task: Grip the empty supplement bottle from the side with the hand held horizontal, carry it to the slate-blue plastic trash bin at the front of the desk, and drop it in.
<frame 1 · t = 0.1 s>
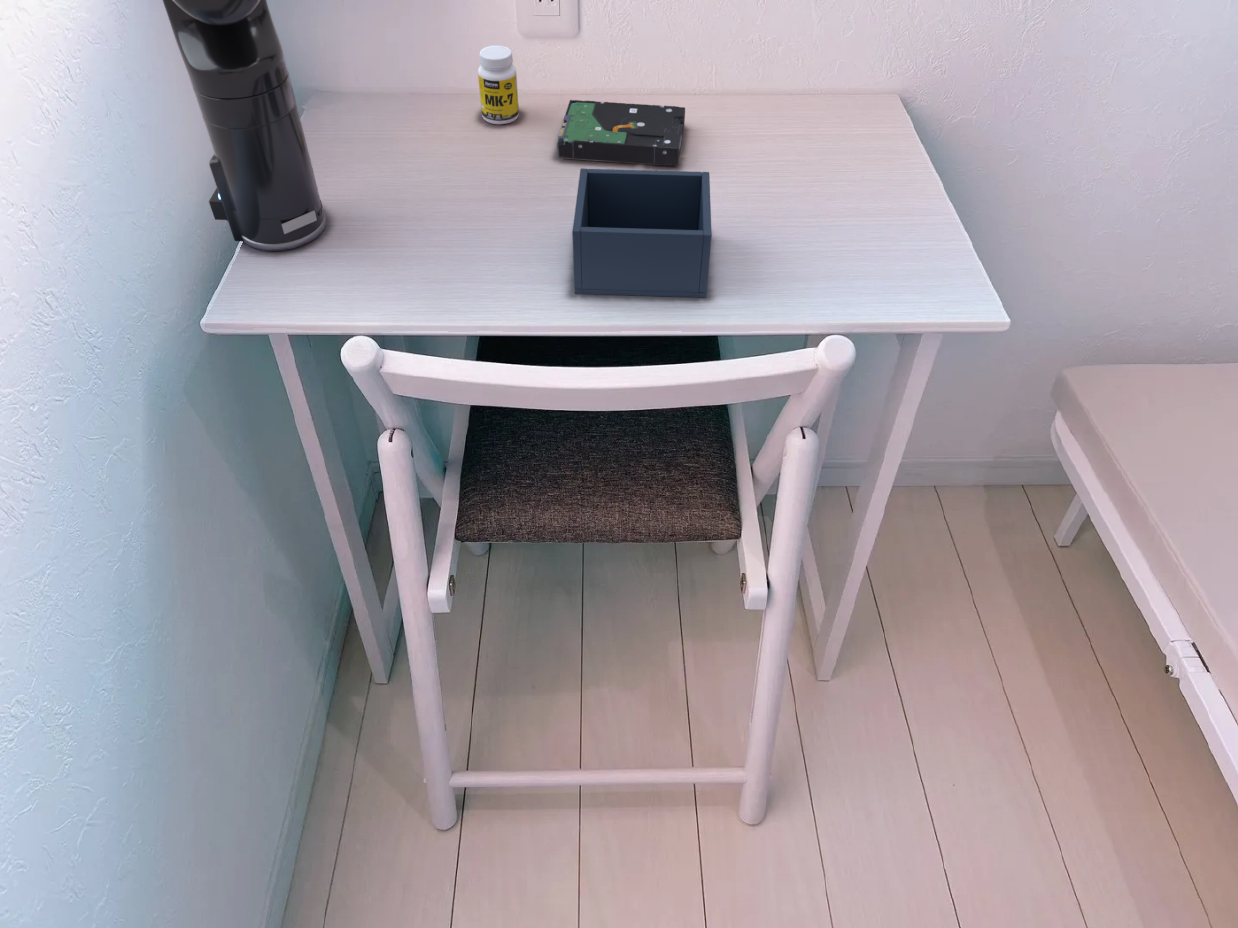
disk drive: (622, 144, 122), on the table
supplement bottle: (500, 117, 126), on the table
bin: (641, 262, 105), on the table
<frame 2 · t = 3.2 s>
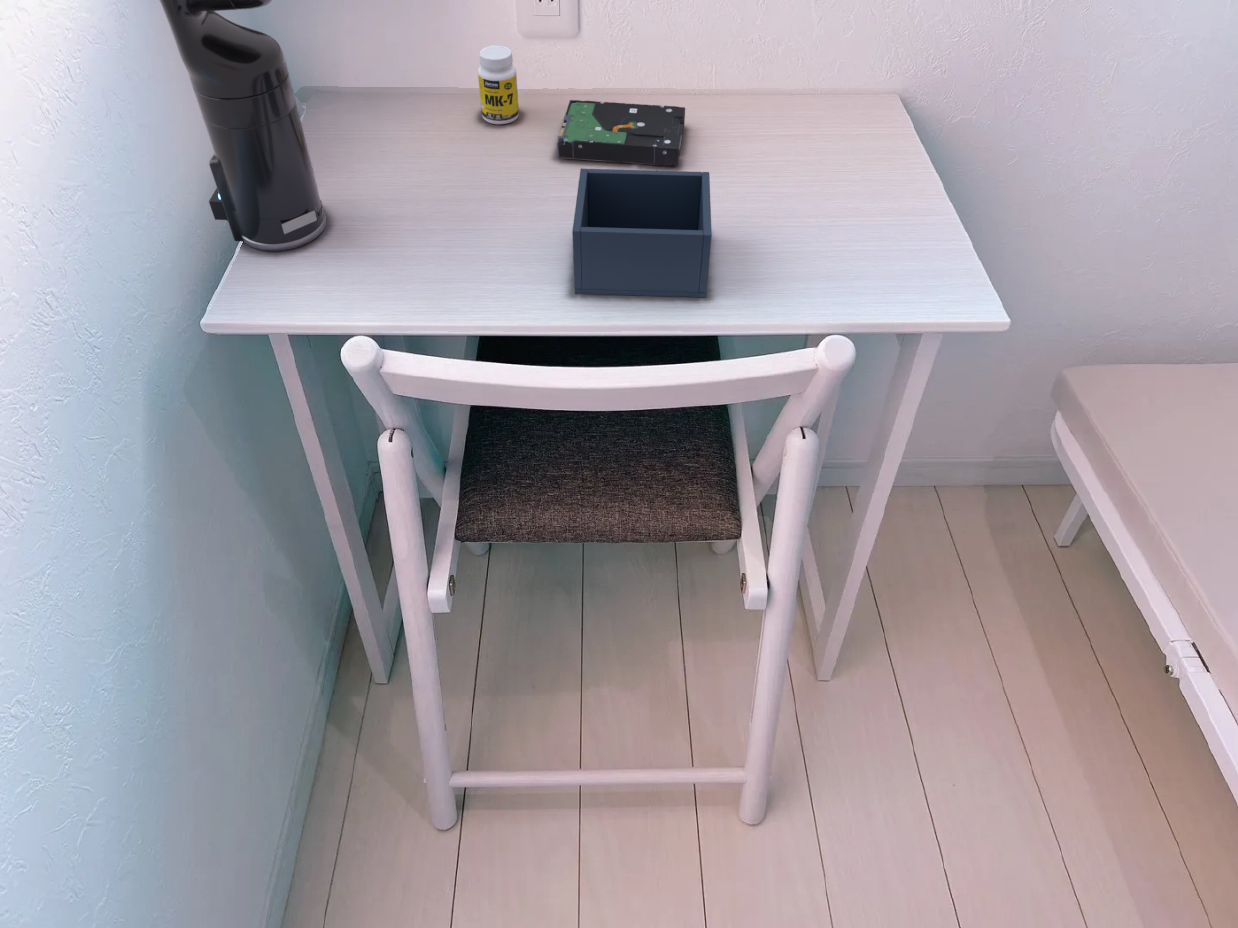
nothing on the table moved.
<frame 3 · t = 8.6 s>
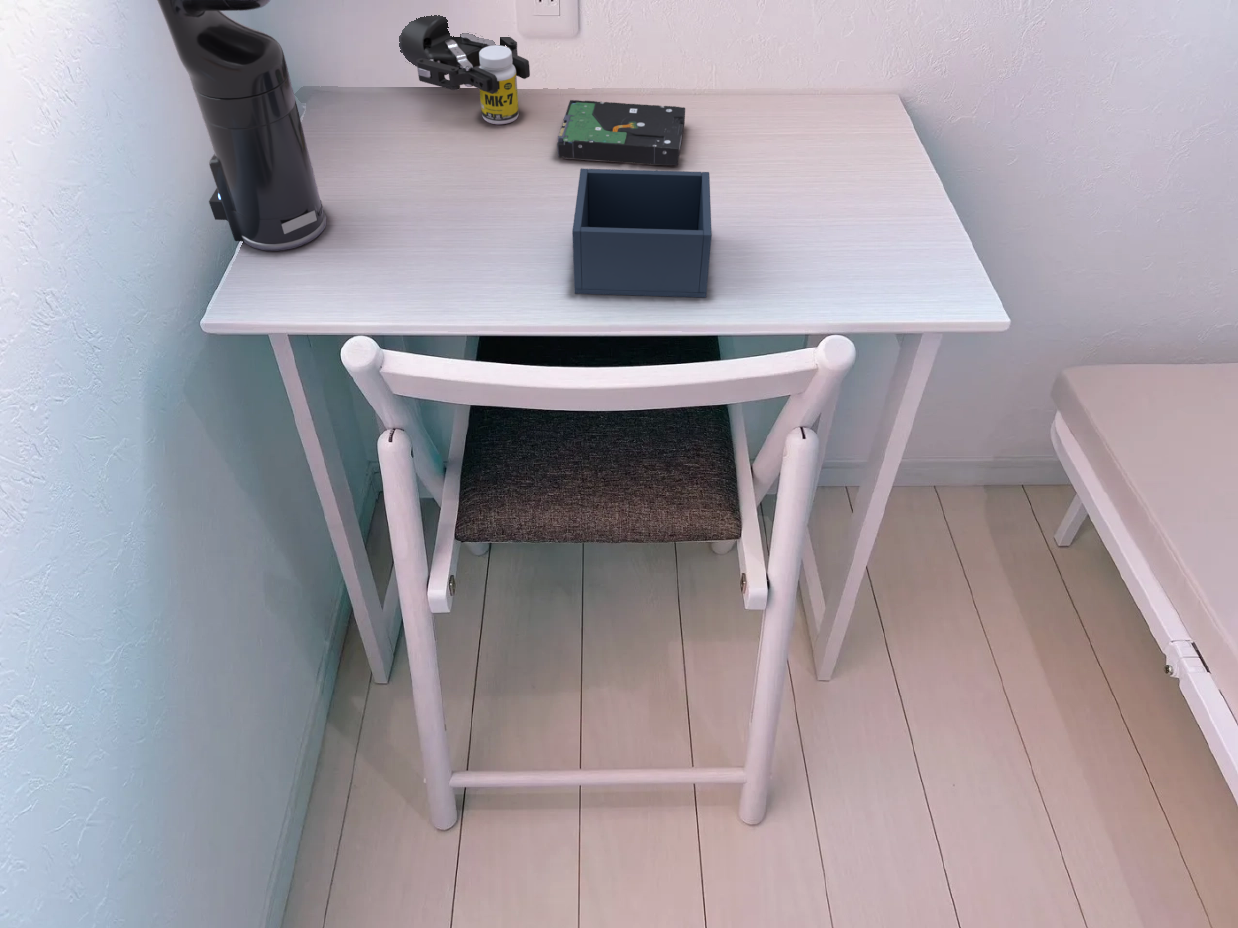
hand: (511, 77, 121), 6 cm above the table, tool horizontal, fingers closed on supplement bottle, 4 cm apart
supplement bottle: (500, 117, 126), on the table, touching gripper
everything else where it was.
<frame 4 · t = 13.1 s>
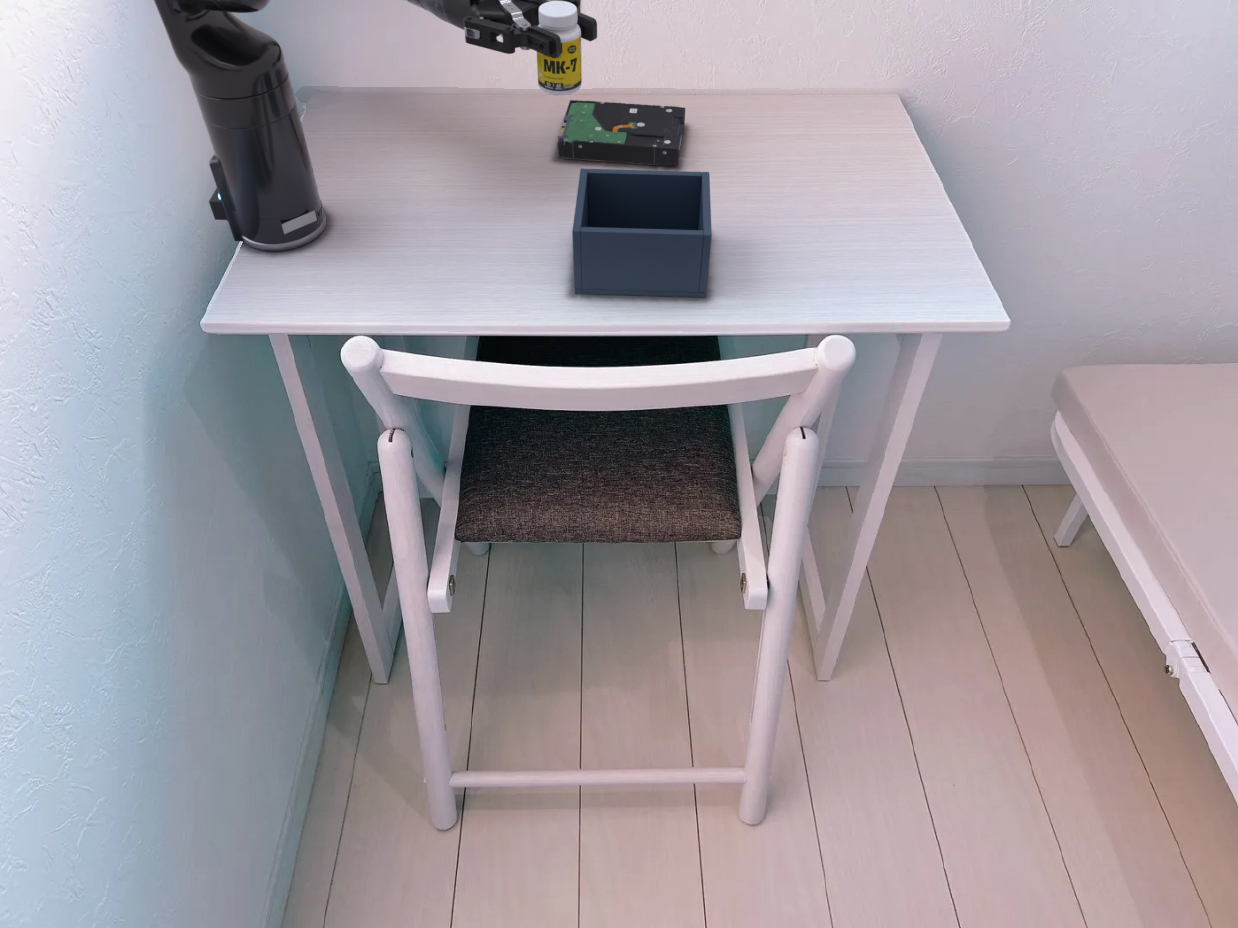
hand: (576, 39, 102), 18 cm above the table, tool horizontal, fingers closed on supplement bottle, 4 cm apart
supplement bottle: (560, 88, 107), point 12 cm above the table, touching gripper
everything else where it was.
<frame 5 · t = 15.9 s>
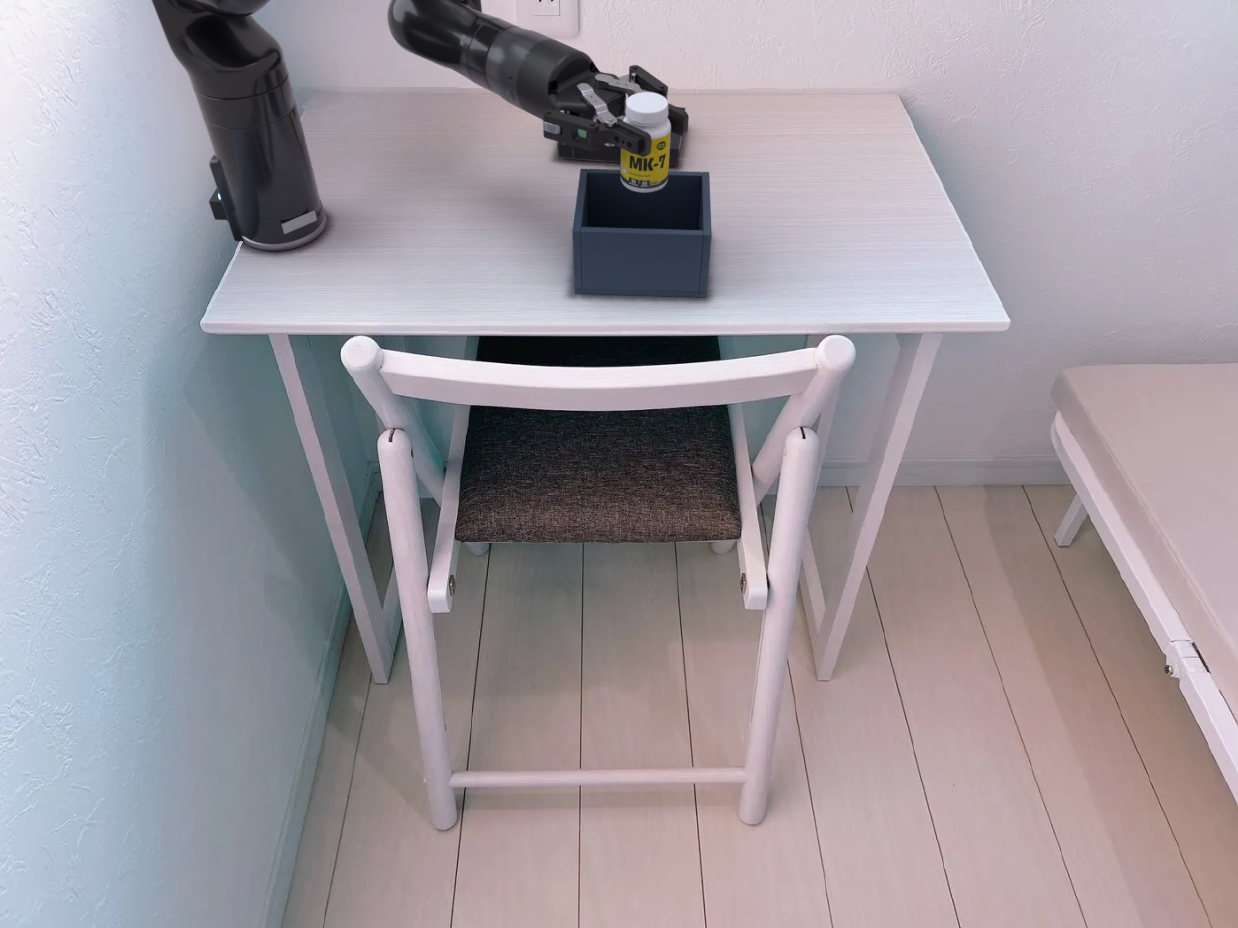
hand: (667, 135, 92), 16 cm above the table, tool horizontal, fingers closed on supplement bottle, 4 cm apart
supplement bottle: (644, 182, 98), point 9 cm above the table, touching gripper
everything else where it was.
when the fingers open (11 cm above the table, at t = 17.9 s): supplement bottle drops 4 cm, resting on bin.
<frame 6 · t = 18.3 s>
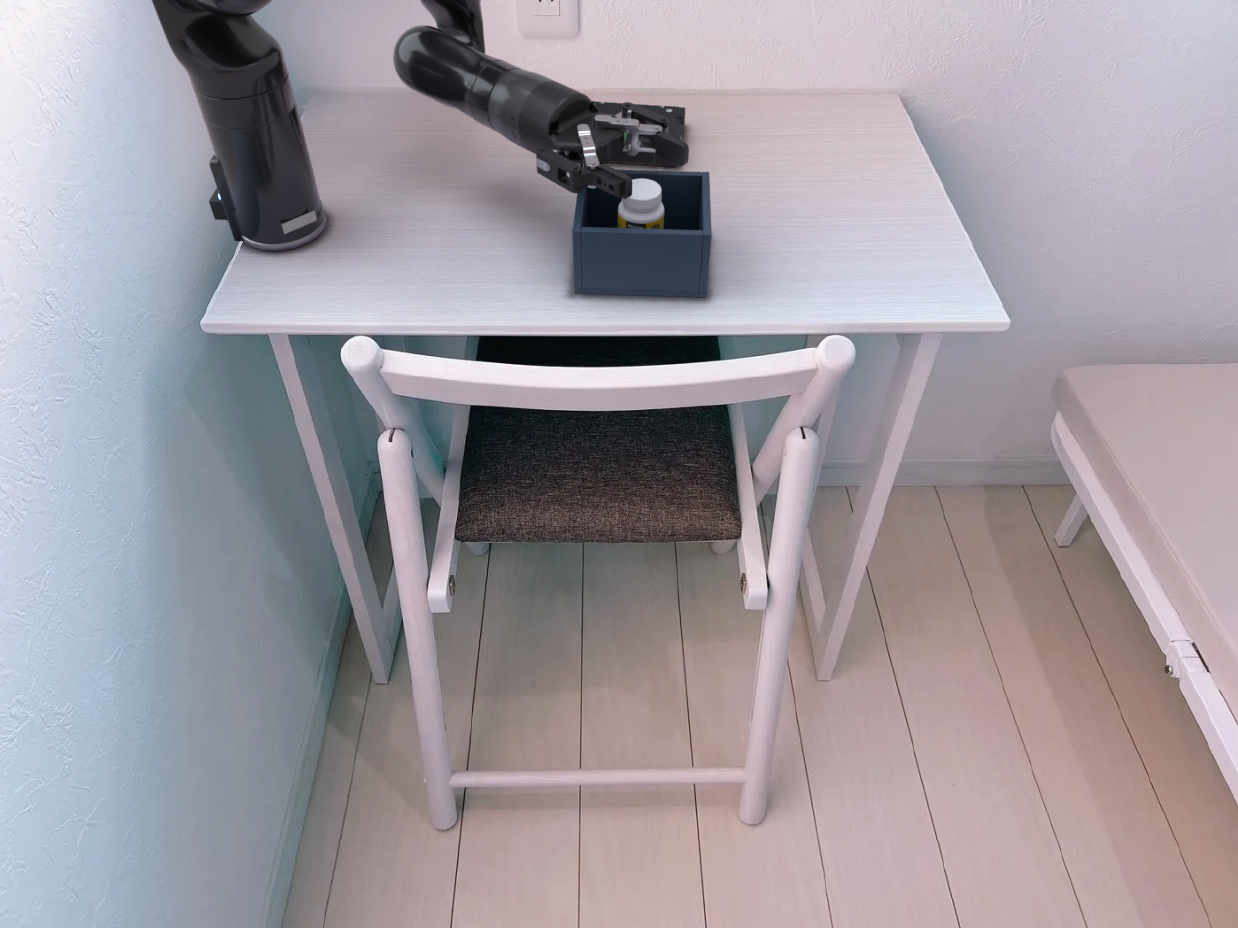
hand: (658, 172, 96), 12 cm above the table, tool horizontal, fingers open, 8 cm apart
supplement bottle: (639, 259, 105), resting on bin
everything else where it was.
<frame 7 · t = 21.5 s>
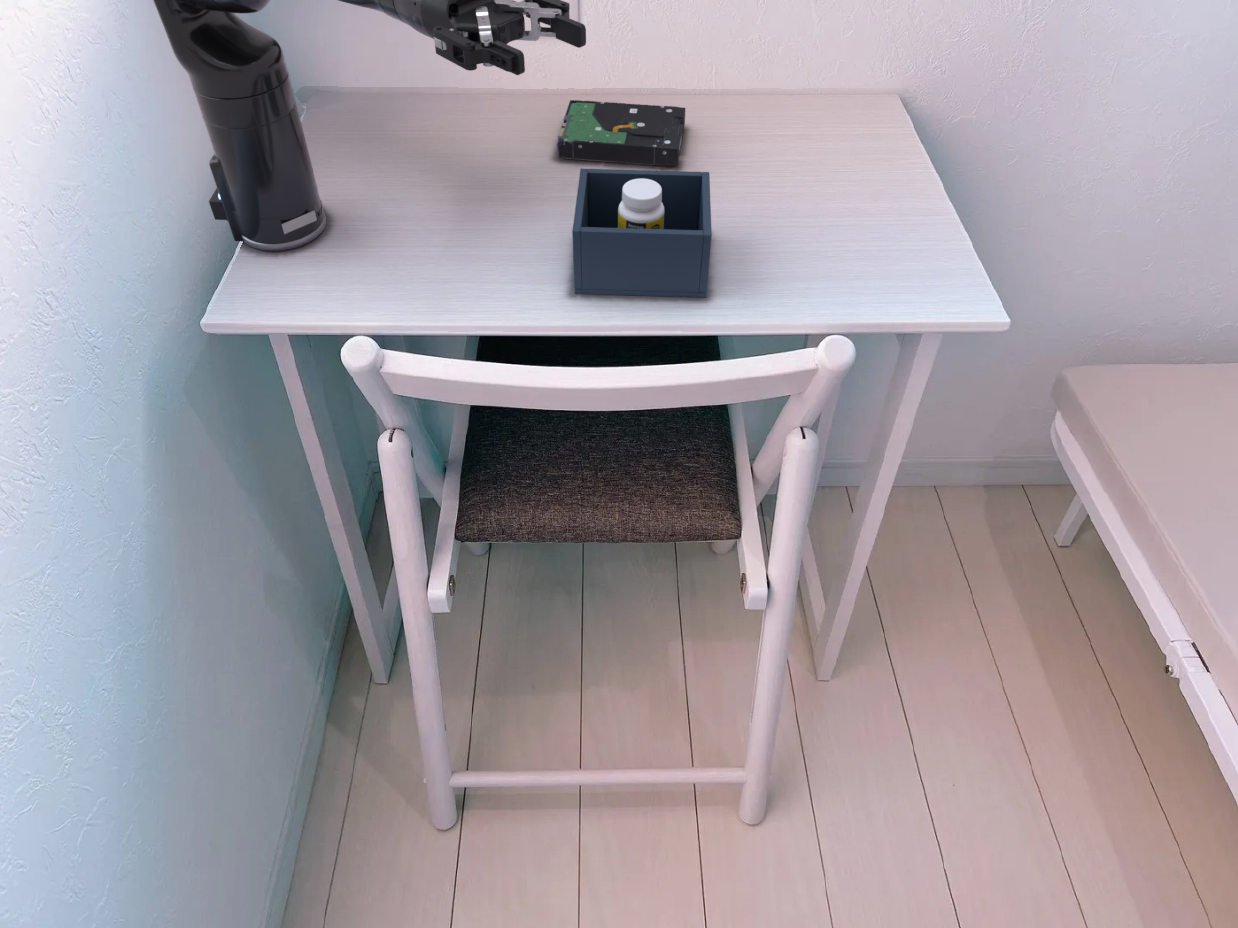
hand: (553, 50, 97), 19 cm above the table, tool horizontal, fingers open, 8 cm apart
nothing on the table moved.
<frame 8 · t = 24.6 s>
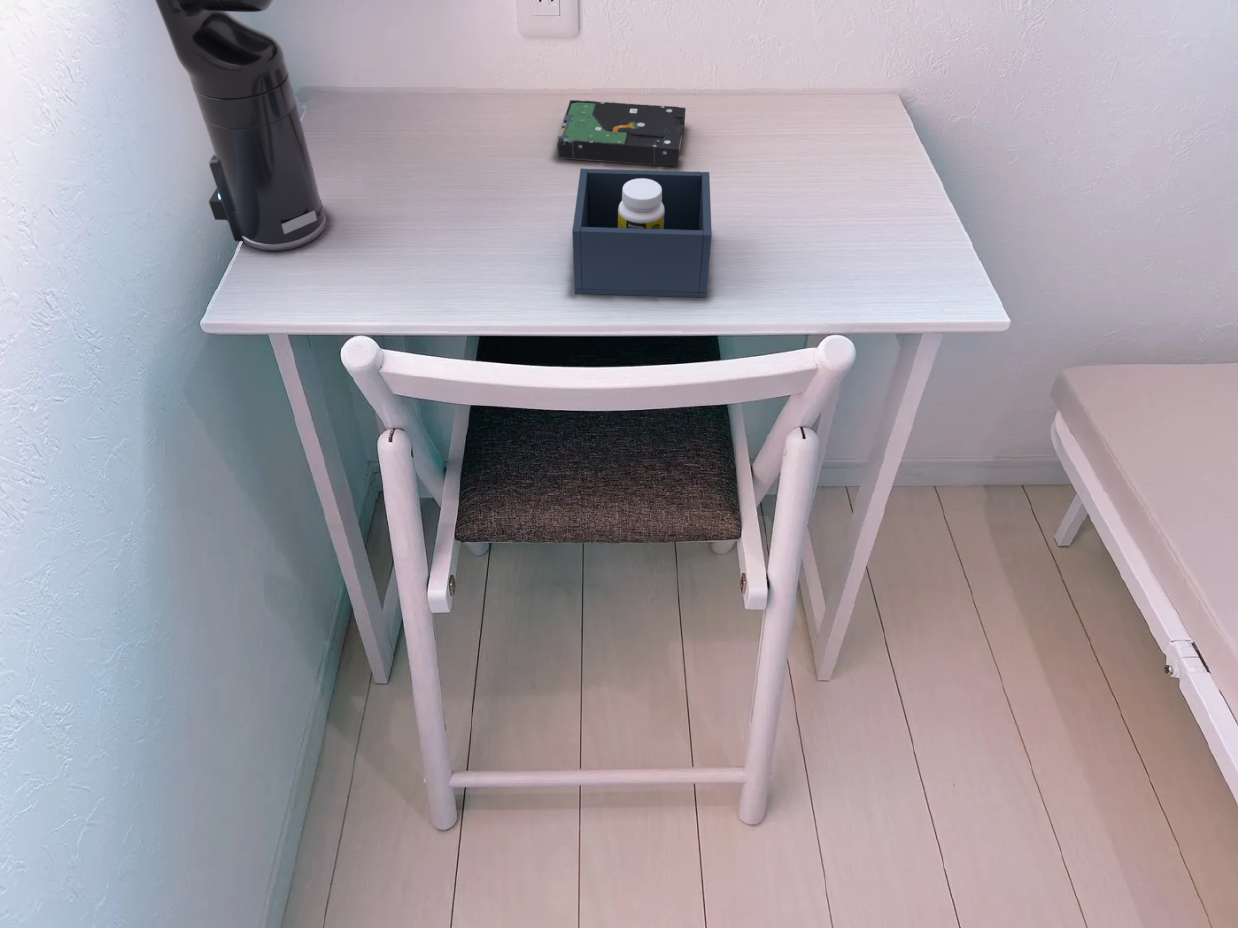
nothing on the table moved.
at the end: supplement bottle inside the target area in the bin (0.2 cm from its centre), point 0.4 cm above the bin's base; the gripper is holding nothing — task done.
